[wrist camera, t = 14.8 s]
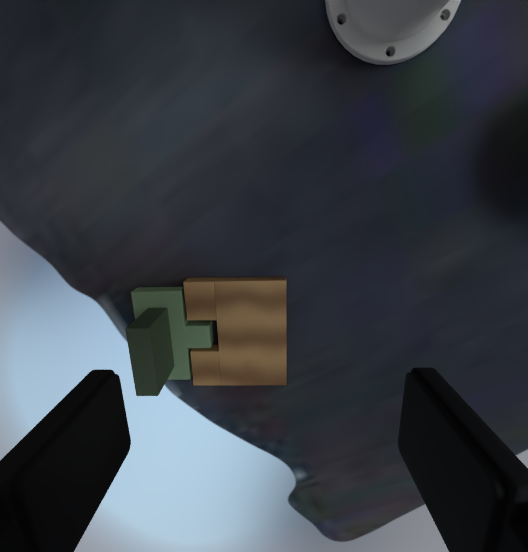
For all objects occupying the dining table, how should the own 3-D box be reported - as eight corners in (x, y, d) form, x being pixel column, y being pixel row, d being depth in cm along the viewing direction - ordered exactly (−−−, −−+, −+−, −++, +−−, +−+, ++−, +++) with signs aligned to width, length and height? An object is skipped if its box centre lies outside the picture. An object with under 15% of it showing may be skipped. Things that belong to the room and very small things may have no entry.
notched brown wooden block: (187, 277, 36) (183, 281, 34) (285, 276, 36) (286, 280, 34) (196, 377, 40) (193, 385, 38) (285, 376, 39) (286, 385, 38)
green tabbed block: (137, 287, 36) (104, 310, 29) (209, 286, 36) (194, 309, 29) (149, 372, 40) (122, 411, 32) (216, 371, 39) (203, 411, 32)
